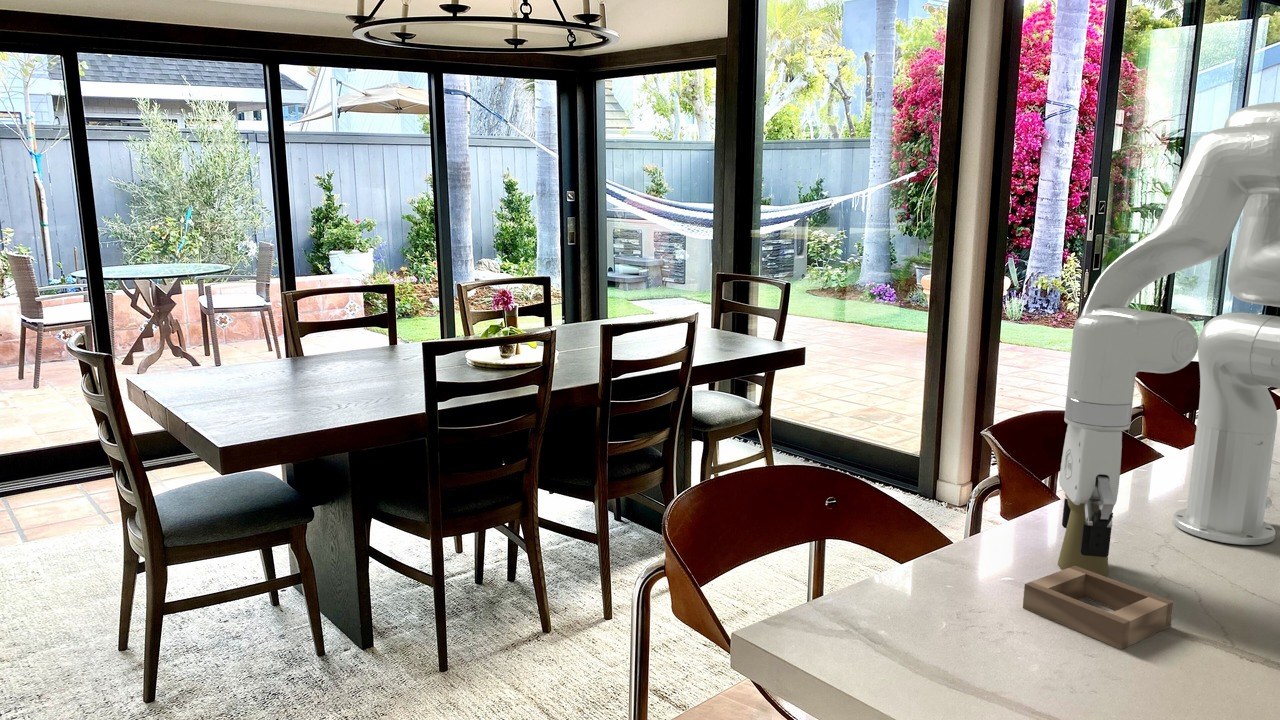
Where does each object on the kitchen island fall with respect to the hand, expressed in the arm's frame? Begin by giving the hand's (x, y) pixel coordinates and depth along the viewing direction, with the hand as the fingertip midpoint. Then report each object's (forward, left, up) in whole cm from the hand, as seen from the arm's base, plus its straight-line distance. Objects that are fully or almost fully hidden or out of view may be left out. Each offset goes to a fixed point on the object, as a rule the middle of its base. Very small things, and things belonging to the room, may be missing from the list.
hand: (1083, 541), depth 121 cm
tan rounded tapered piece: (0, 0, -4) cm, 4 cm away
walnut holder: (+12, +9, -4) cm, 15 cm away
